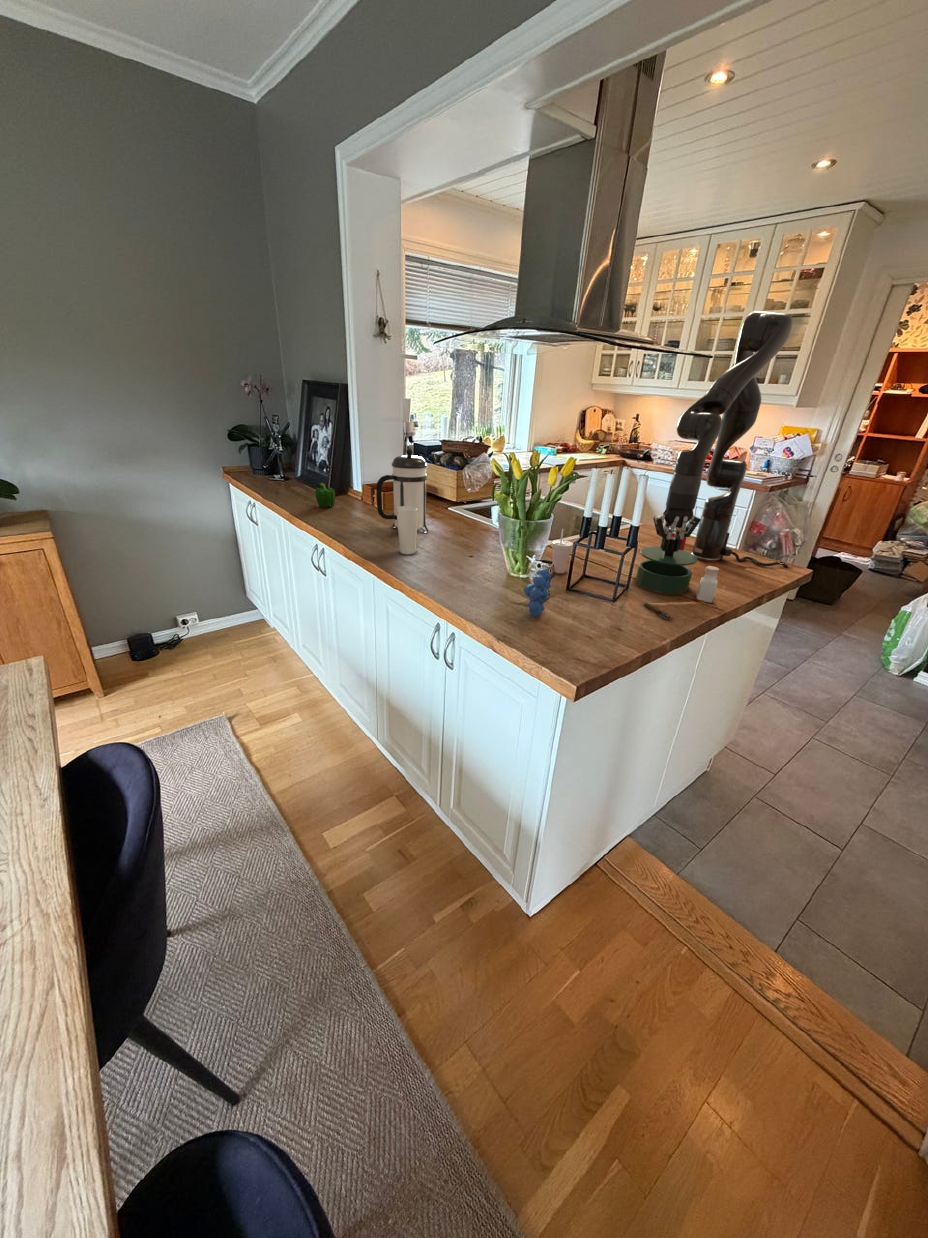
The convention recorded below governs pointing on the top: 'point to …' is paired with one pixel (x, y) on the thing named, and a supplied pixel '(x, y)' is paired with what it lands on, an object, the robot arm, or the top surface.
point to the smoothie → (561, 553)
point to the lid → (669, 555)
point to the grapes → (538, 592)
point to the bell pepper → (325, 496)
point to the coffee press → (406, 487)
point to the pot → (663, 577)
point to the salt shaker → (708, 584)
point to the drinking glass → (407, 528)
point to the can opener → (657, 611)
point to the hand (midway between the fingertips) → (669, 550)
